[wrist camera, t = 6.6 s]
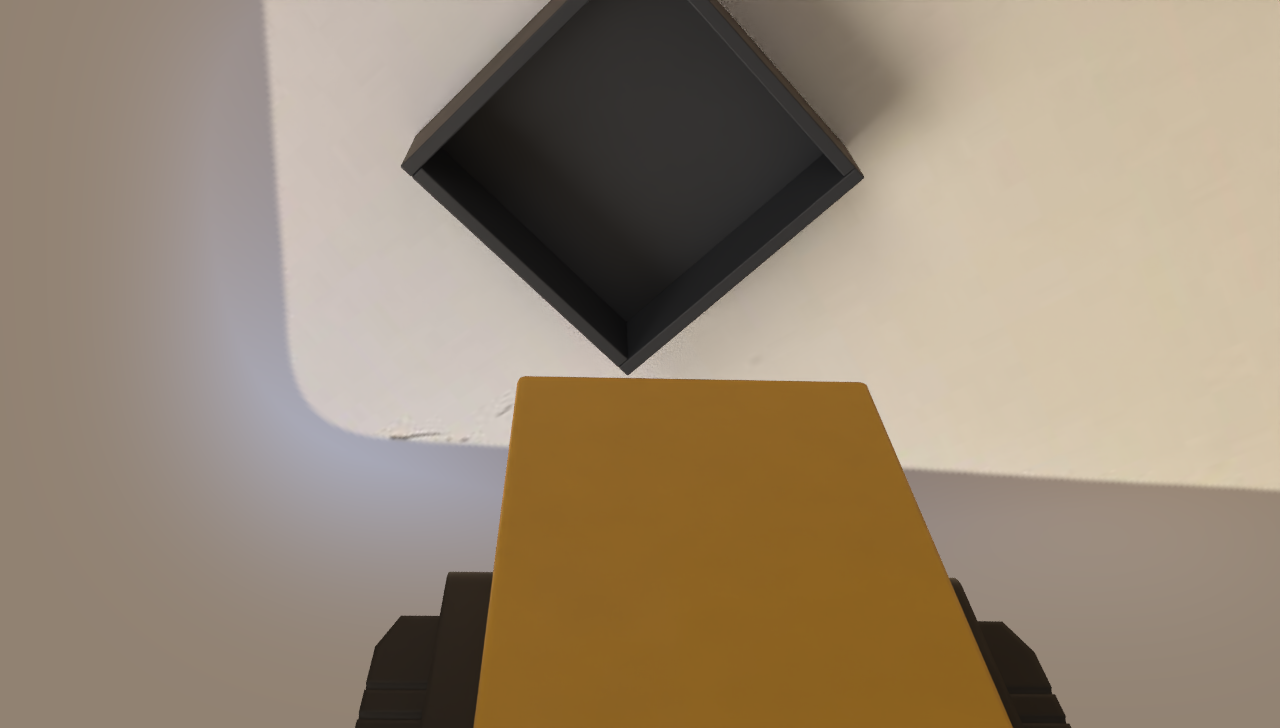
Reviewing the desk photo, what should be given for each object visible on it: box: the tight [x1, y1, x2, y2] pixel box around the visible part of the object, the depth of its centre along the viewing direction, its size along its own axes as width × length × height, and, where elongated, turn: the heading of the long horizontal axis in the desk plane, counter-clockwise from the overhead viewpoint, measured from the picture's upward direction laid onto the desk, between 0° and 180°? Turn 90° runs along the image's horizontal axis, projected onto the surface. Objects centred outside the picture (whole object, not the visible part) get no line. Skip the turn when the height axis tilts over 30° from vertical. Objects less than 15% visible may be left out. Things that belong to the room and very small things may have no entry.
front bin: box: [401, 0, 864, 375], centre depth 31 cm, size 9×9×3 cm
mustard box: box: [473, 376, 1013, 728], centre depth 12 cm, size 4×4×7 cm
